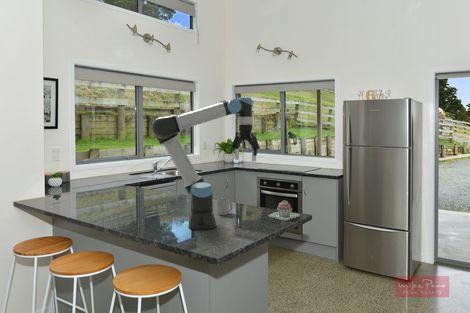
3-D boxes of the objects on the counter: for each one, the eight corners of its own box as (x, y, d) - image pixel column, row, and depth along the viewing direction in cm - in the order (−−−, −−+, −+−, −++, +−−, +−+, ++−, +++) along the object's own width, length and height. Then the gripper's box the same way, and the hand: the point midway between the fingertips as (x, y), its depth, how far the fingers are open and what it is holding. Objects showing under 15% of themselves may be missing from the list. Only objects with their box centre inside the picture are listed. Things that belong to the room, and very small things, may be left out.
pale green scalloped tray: (286, 220, 224) (286, 218, 224) (267, 216, 234) (267, 214, 234) (299, 216, 234) (299, 214, 234) (280, 213, 244) (280, 210, 243)
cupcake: (273, 216, 233) (273, 200, 232) (282, 213, 240) (282, 197, 239) (286, 219, 227) (286, 202, 226) (295, 216, 234) (295, 199, 233)
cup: (216, 212, 247) (215, 198, 246) (231, 211, 249) (231, 197, 248) (218, 215, 240) (218, 201, 239) (234, 214, 242) (234, 200, 241)
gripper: (266, 124, 222) (265, 161, 223) (234, 124, 239) (234, 158, 241) (257, 124, 216) (257, 162, 218) (225, 124, 234) (225, 159, 236)
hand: (245, 160), depth 230 cm, fingers open, 13 cm apart
